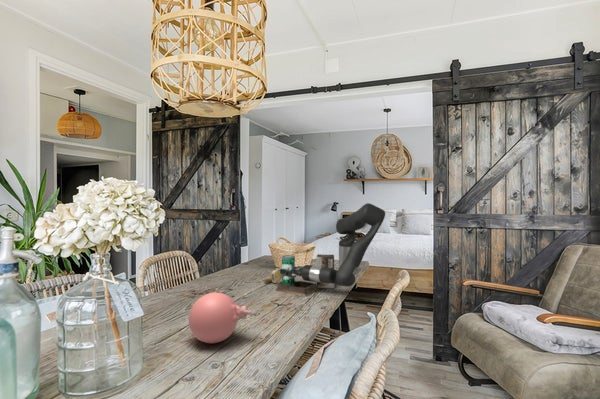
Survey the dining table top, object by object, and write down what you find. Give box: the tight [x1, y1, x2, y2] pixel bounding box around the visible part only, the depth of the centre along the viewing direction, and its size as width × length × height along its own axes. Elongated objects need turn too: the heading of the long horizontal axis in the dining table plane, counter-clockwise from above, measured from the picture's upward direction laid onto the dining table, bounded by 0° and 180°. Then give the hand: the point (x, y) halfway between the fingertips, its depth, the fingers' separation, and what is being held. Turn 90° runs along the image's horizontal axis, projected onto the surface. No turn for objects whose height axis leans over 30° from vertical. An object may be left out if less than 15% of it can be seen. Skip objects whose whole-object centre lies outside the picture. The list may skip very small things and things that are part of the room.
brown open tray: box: [275, 280, 317, 297], centre depth 162 cm, size 11×17×3 cm, turn 60°
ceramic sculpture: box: [262, 266, 282, 284], centre depth 176 cm, size 11×9×15 cm
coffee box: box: [316, 254, 335, 289], centre depth 169 cm, size 9×6×16 cm
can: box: [281, 254, 296, 286], centre depth 164 cm, size 6×6×15 cm
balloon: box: [188, 292, 253, 344], centre depth 105 cm, size 15×20×15 cm
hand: (284, 269), depth 165 cm, fingers closed on can, 6 cm apart
